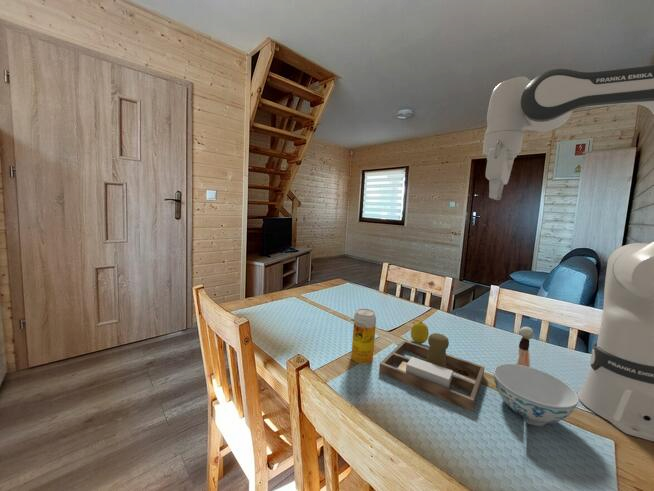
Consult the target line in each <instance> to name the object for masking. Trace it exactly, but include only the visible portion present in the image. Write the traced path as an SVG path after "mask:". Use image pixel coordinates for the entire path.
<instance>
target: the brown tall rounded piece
mask: <svg viewBox="0 0 654 491" xmlns="http://www.w3.org/2000/svg"><path fill="white" fill-rule="evenodd" d="M449 343H450V341H449V338H448V337H447V335H444V334H441V333H439V332H438V333H437V332H435V333H430V335H428V339H427V344H428V345H429V347H428V348H429V350H428V354H427V357H425V361H426V362H429V363H432V364H435V365H438V366H441V367H444V368H446V369H447V364H446V354H447V349H448V348H449V346H450V344H449Z"/></svg>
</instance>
